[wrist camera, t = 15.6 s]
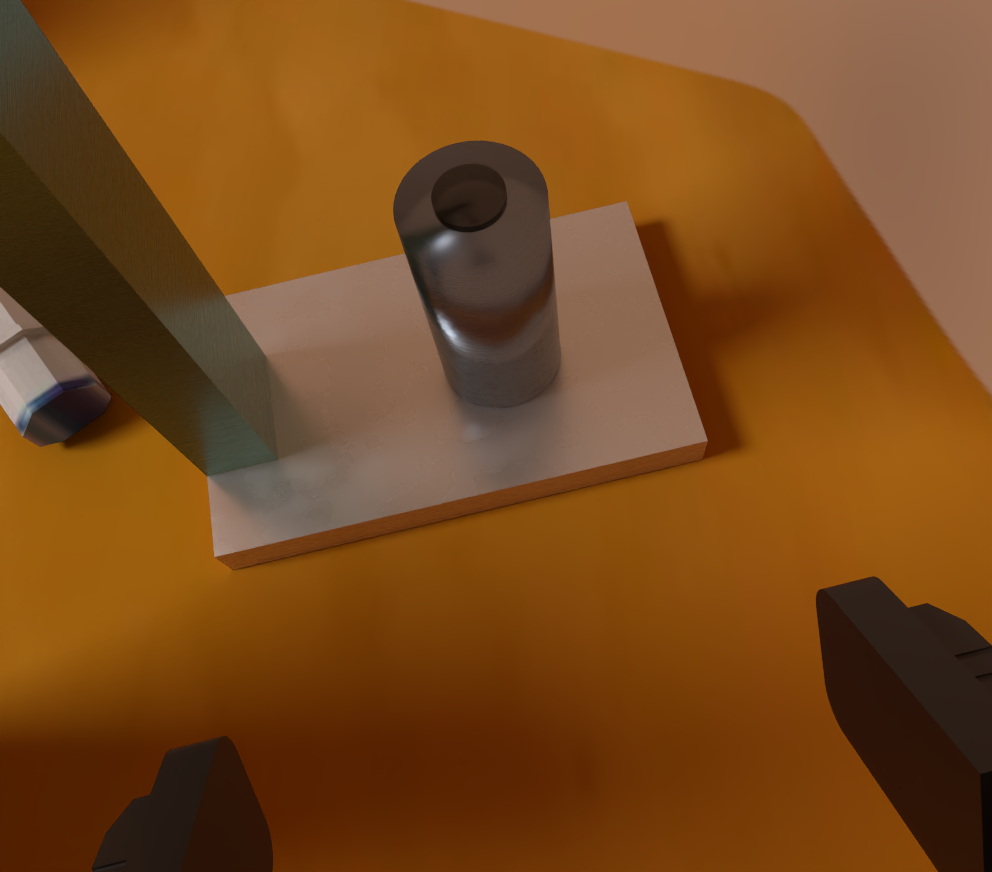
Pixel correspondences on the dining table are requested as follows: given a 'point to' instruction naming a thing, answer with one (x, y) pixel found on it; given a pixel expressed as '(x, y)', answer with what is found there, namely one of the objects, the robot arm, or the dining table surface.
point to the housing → (483, 268)
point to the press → (317, 348)
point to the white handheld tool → (43, 380)
